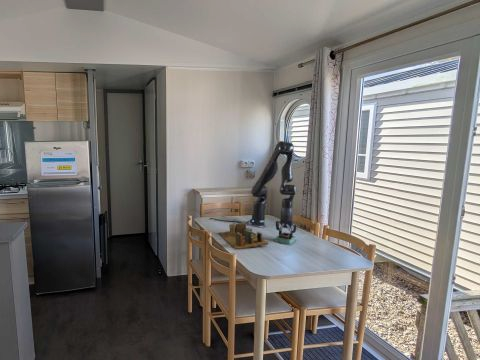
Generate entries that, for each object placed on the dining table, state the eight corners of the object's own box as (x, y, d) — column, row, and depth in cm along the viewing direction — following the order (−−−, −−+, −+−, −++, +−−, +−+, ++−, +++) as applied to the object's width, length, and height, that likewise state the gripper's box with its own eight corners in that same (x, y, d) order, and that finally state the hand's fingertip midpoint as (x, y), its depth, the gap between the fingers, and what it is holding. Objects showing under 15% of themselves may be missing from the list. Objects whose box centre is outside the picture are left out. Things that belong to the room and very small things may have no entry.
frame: (288, 240, 200) (288, 236, 200) (278, 238, 204) (279, 234, 204) (291, 237, 206) (292, 233, 206) (282, 235, 210) (283, 232, 210)
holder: (289, 244, 198) (289, 240, 198) (275, 241, 204) (275, 237, 204) (295, 240, 207) (295, 236, 206) (281, 237, 213) (281, 233, 212)
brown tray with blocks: (271, 248, 192) (269, 226, 190) (236, 254, 189) (234, 232, 187) (248, 231, 226) (246, 212, 224) (218, 236, 224) (216, 217, 221)
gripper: (299, 214, 201) (298, 238, 203) (278, 210, 210) (276, 233, 213) (296, 216, 195) (294, 240, 198) (274, 212, 205) (272, 236, 207)
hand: (285, 237), depth 205 cm, fingers closed on frame, 6 cm apart
